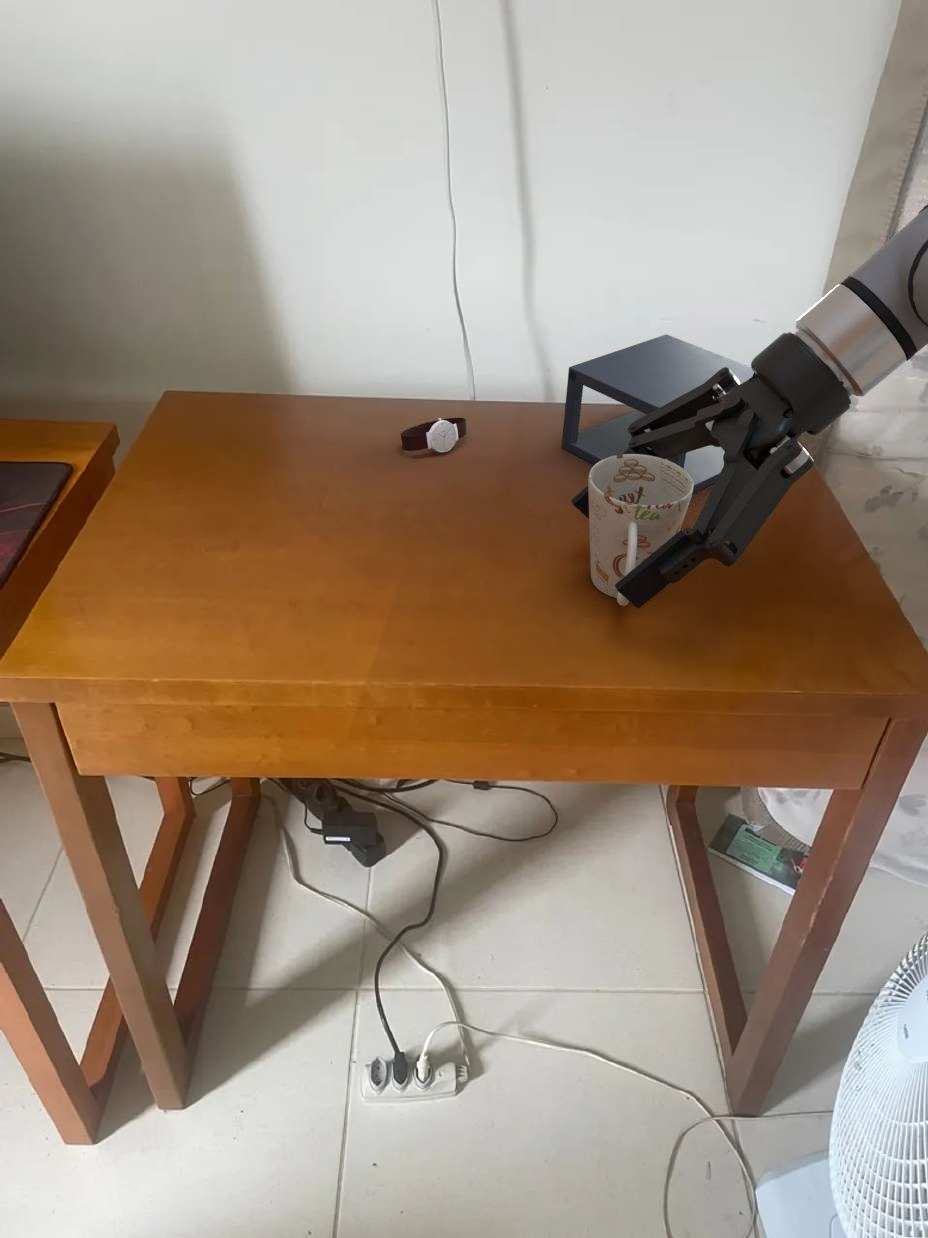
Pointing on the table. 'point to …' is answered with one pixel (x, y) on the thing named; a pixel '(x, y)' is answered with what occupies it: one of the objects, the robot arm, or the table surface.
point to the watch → (434, 435)
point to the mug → (632, 514)
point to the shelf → (644, 398)
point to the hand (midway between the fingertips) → (602, 551)
